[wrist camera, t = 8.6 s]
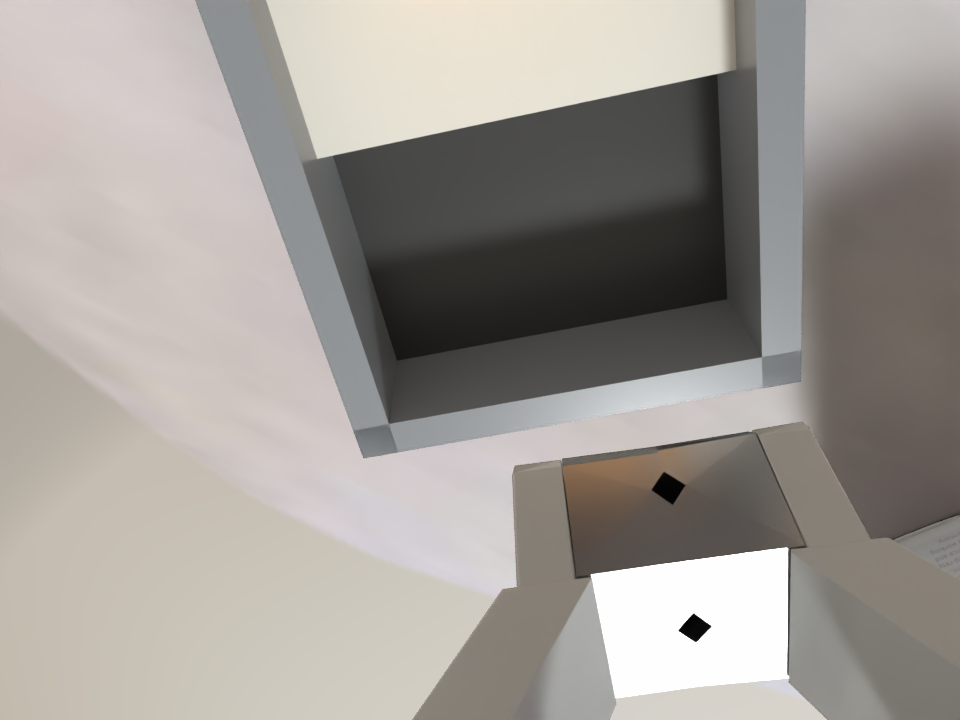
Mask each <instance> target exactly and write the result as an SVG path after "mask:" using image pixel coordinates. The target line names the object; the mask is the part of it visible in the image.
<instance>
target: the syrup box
mask: <svg viewBox="0 0 960 720" xmlns="http://www.w3.org/2000/svg"><path fill="white" fill-rule="evenodd" d="M893 541H895V542H897V543H898V544H900V545H902V546H903V547H905V548H907V549H909V550H910V551H912V552H914V553H915V554H917V555H919V556H920V557H922V558H924V559H926V560H927V561H929V562H931V563H932V564H934V565H936V566H937V567H939V568H941V569H943V570H944V571H946V572H948V573H949V574H951V575H953V576H954V577H956V578H958V579H960V515H958V516H954V517H951V518H949V519H946V520H943V521H940V522H937V523H935V524H932V525H929V526H927V527H924V528H922V529H919V530H917V531H914V532H912V533H909V534H906V535H904V536H901V537H899V538H897V539H894V540H893Z"/></svg>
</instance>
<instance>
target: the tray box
mask: <svg viewBox="0 0 960 720" xmlns="http://www.w3.org/2000/svg"><path fill="white" fill-rule="evenodd" d="M195 1H196V4H197V6H198V9H199V12H200V15H201V17H202V20H203V23H204V26H205V28H206V31H207V34H208V36H209V39H210V42H211V45H212V47H213V50H214V53H215V55H216V58H217V61H218V64H219V66H220V69H221V72H222V74H223V77H224V80H225V83H226V85H227V88H228V91H229V94H230V96H231V99H232V102H233V104H234V107H235V110H236V113H237V115H238V118H239V121H240V123H241V126H242V129H243V132H244V134H245V137H246V140H247V143H248V145H249V148H250V151H251V153H252V156H253V159H254V162H255V164H256V167H257V170H258V172H259V175H260V178H261V181H262V183H263V186H264V189H265V192H266V194H267V197H268V200H269V202H270V205H271V208H272V211H273V213H274V216H275V219H276V221H277V224H278V227H279V230H280V232H281V235H282V238H283V240H284V243H285V246H286V249H287V251H288V254H289V257H290V260H291V262H292V265H293V268H294V270H295V273H296V276H297V279H298V281H299V284H300V287H301V289H302V292H303V295H304V298H305V300H306V303H307V306H308V309H309V311H310V314H311V317H312V319H313V322H314V325H315V328H316V330H317V333H318V336H319V338H320V341H321V344H322V347H323V349H324V352H325V355H326V358H327V360H328V363H329V366H330V368H331V371H332V374H333V377H334V379H335V382H336V385H337V387H338V390H339V393H340V396H341V398H342V401H343V404H344V407H345V409H346V412H347V415H348V417H349V420H350V423H351V426H352V428H353V431H354V434H355V436H356V439H357V442H358V445H359V447H360V450H361V453H362V455H363V458H368V457H374V456H380V455H385V454H391V453H397V452H403V451H408V450H414V449H420V448H425V447H431V446H437V445H442V444H448V443H454V442H460V441H465V440H471V439H477V438H482V437H488V436H494V435H499V434H505V433H511V432H516V431H522V430H528V429H534V428H539V427H545V426H551V425H556V424H562V423H568V422H573V421H579V420H585V419H591V418H596V417H602V416H608V415H613V414H619V413H625V412H630V411H636V410H642V409H648V408H653V407H659V406H665V405H670V404H676V403H682V402H687V401H693V400H699V399H704V398H710V397H716V396H722V395H727V394H733V393H739V392H744V391H750V390H756V389H761V388H767V387H773V386H779V385H784V384H790V383H796V382H801V323H802V246H803V168H804V90H805V13H806V0H195Z"/></svg>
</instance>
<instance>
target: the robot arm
mask: <svg viewBox="0 0 960 720" xmlns="http://www.w3.org/2000/svg"><path fill="white" fill-rule="evenodd" d="M512 483H513V507H514V531H515V554H516V578H517V587H514V588H508V589H502V591H501V592H500V593H499V595H498V596H497V598H496V599H495V601H494V602H493V604H492V605H491V607H490V608H489V609H488V611H487V612H486V614H485V615H484V617H483V618H482V620H481V621H480V622H479V624H478V625H477V627H476V628H475V630H474V631H473V633H472V634H471V636H470V637H469V638H468V640H467V641H466V643H465V644H464V646H463V647H462V649H461V650H460V652H459V653H458V654H457V656H456V657H455V659H454V660H453V662H452V663H451V665H450V666H449V668H448V669H447V670H446V672H445V673H444V675H443V676H442V678H441V679H440V681H439V682H438V683H437V685H436V686H435V688H434V689H433V691H432V692H431V694H430V695H429V697H428V698H427V699H426V701H425V703H424V704H423V705H422V707H421V708H420V709H419V711H418V712H417V714H416V715H415V717H414V718H413V720H610V718H611V715H612V713H613V710H614V708H615V706H616V699H615V698H620V697H627V696H635V695H642V694H648V693H654V692H662V691H668V690H676V689H682V688H690V687H696V686H706V685H717V684H727V683H739V682H751V681H762V680H773V679H784V678H789V683H790V684H791V685H792V686H793V687H794V688H795V689H796V690H797V691H798V692H799V693H800V694H801V695H802V696H803V697H804V698H805V699H806V700H807V701H808V702H810V703H811V704H812V705H813V706H814V707H815V708H816V709H817V710H818V711H819V712H820V713H821V714H822V715H823V716H824V717H825V718H826V719H827V720H960V579H958V578H956V577H954V576H953V575H951V574H949V573H948V572H946V571H944V570H943V569H941V568H939V567H937V566H936V565H934V564H932V563H931V562H929V561H927V560H926V559H924V558H922V557H920V556H919V555H917V554H915V553H914V552H912V551H910V550H909V549H907V548H905V547H903V546H902V545H900V544H898V543H897V542H895V541H893V540H892V539H890V538H888V537H885V538H876V539H871V538H870V536H869V535H868V533H867V531H866V529H865V527H864V526H863V524H862V522H861V520H860V518H859V516H858V515H857V513H856V511H855V509H854V507H853V505H852V504H851V502H850V500H849V498H848V496H847V495H846V493H845V491H844V489H843V487H842V485H841V484H840V482H839V480H838V478H837V476H836V474H835V473H834V471H833V469H832V467H831V465H830V464H829V462H828V460H827V458H826V456H825V454H824V453H823V451H822V449H821V447H820V445H819V444H818V442H817V440H816V438H815V436H814V434H813V433H812V431H811V429H810V427H809V426H807V425H806V424H804V423H803V422H797V423H791V424H785V425H779V426H773V427H768V428H762V429H756V430H752V432H743V433H737V434H730V435H724V436H718V437H712V438H705V439H699V440H693V441H687V442H680V443H674V444H668V445H662V446H656V447H648V448H641V449H633V450H625V451H618V452H610V453H602V454H595V455H587V456H579V457H572V458H564V459H562V461H561V460H556V461H548V462H540V463H533V464H525V465H517V466H515V467H514V471H513V475H512Z"/></svg>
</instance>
